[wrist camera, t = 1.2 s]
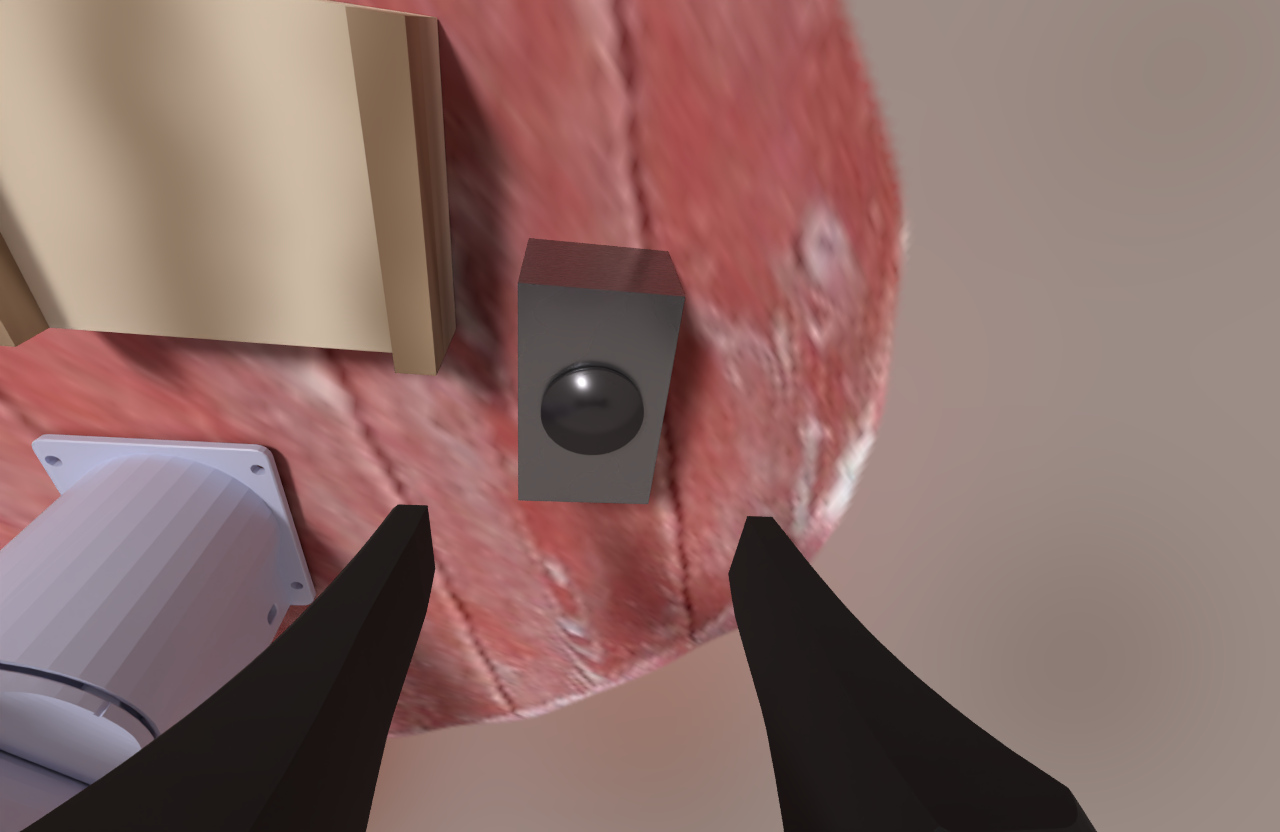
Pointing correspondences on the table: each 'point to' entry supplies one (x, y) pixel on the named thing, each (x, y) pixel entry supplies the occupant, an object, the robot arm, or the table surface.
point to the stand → (225, 174)
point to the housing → (593, 369)
